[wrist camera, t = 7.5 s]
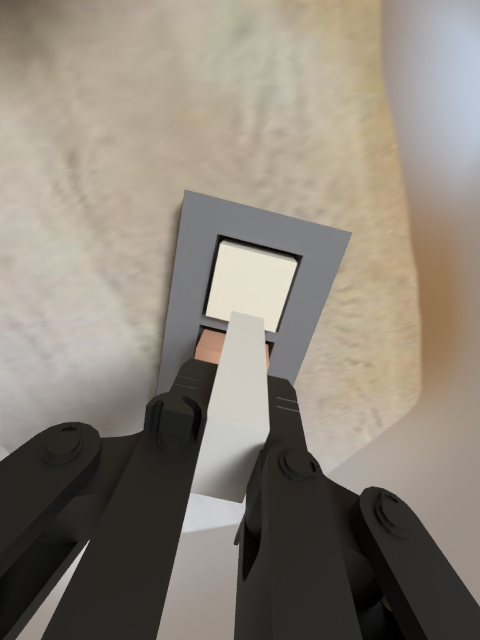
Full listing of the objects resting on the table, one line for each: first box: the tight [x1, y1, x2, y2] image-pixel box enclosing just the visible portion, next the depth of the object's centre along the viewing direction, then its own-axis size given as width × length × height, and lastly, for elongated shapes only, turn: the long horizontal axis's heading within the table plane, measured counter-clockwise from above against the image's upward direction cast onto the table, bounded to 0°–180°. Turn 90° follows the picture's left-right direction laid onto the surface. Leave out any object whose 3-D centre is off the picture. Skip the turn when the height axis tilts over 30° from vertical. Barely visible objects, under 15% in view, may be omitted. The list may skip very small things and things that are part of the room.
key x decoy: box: [194, 329, 269, 371], centre depth 24 cm, size 6×6×4 cm
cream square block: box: [206, 239, 297, 332], centre depth 23 cm, size 6×6×4 cm
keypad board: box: [156, 190, 352, 396], centre depth 27 cm, size 28×13×2 cm, turn 167°
